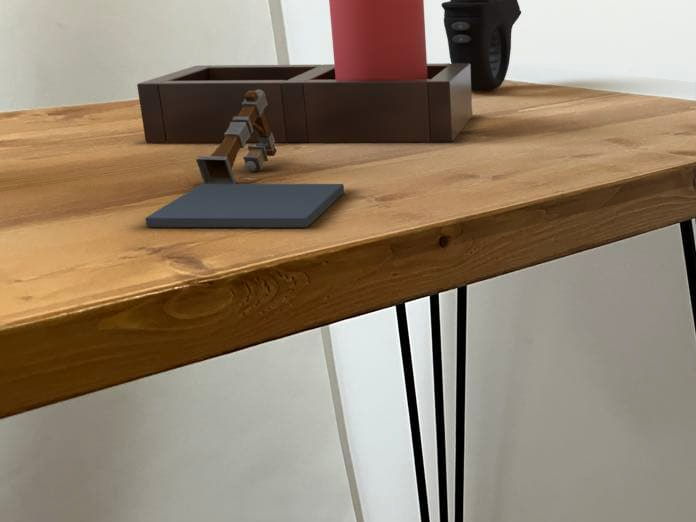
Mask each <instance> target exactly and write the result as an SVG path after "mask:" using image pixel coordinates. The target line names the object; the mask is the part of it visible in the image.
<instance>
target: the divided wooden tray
mask: <svg viewBox="0 0 696 522" xmlns="http://www.w3.org/2000/svg"><path fill="white" fill-rule="evenodd" d="M427 76H428V79H361V80H336V77H335V65H334V63H332V64H331V63H330V64H325V63H324V64H225V65H223V64H222V65H221V64H218V65H212V64H211V65H193V66H190V67H187V68H183V69H180V70H177V71H174V72H171V73H168V74H164V75H162V76H157V77H153V78H151V79H148V80H145V81H141V82H139V83H137V84H136V86H137V87H136V88H137V93H138V100H139V106H140V107H139V108H140V113H141V119H142V125H143V133H144V140H145V143H146V144H166V143H168V144H187V143H188V144H189V143H190V144H191V143H192V144H196V143H198V144H203V143H204V144H210V143H211V144H213V143H214V144H215V143H216V144H217V143H219V144H221V143H222V142H223V140H224V139H225V136H224V133H225V132H226V131H227V130H228V128H229V126H230V122H233V121H232V119H233V118H234V117H238V115H239V113H240V112H241V110H242V108H243V106H242V102H244V100H245V95H246V93H247V92H248V91H256V90H262V91H264V93H265V98H266V101H267V104H268V105H267V106H266V107H265V108H264V110H263V112H264V115H265V118H266V121H267V124H268V127H269V130H270V132H272V134H273V137H274V140H275V142H274V143H430V142H431V143H437V142H438V143H451V142H453V141H454V140H455V139H456V137H457V136H458V135H459V134H460V132H461V131H462V130H463V129H464V127H465V126H466V125H467V123H469V121H470V120H471V118H472V117H473V99H472V98H473V97H472V91H471V70H470V63H452V64H451V62H448V63H447V62H446V63H445V62H444V63H427ZM250 136H251V137H250V138H248V140H247V141H246V143H247V144H248V143H259V140H258V136H259V135H258V132H257V131H256V130H255V129H253V132H252V134H250ZM246 143H245V144H246Z"/></svg>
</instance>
